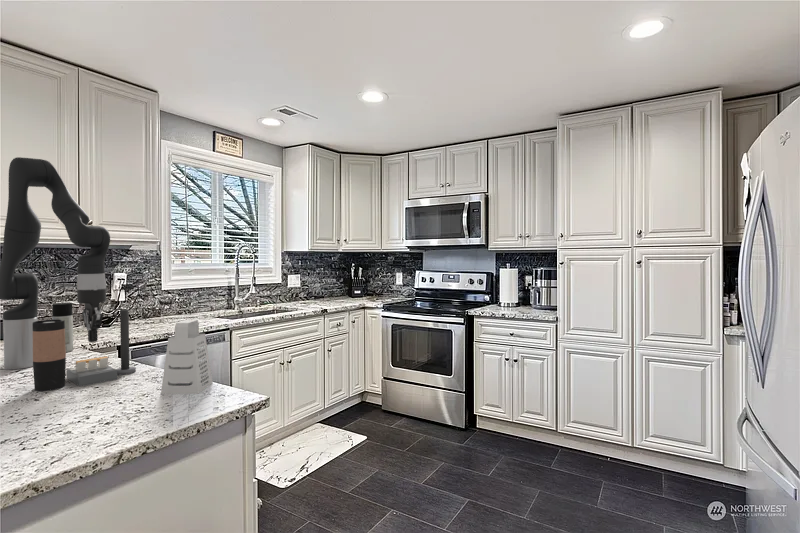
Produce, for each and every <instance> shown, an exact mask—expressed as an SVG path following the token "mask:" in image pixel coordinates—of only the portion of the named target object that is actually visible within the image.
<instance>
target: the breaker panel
mask: <svg viewBox="0 0 800 533" xmlns="http://www.w3.org/2000/svg"><path fill="white" fill-rule="evenodd" d="M116 369H117V368H114V367H112V366H110V365H107V367H104V368H99V367H98V363H97V369H93V370H88V369H87V365H86V368H85V371H81V372H76V367H71V368H66V379H67V380H69V381H70V382H71V383H73V384H74V385H76V386H78V387H83V386H90V385H96V384H100V383H105V382H106V383H107V382H110V381H115V380H118V375H117V370H116Z"/></svg>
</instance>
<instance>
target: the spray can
mask: <svg viewBox="0 0 800 533" xmlns="http://www.w3.org/2000/svg"><path fill="white" fill-rule="evenodd" d="M51 311H52V313H51V314H52V315H51V320H56V319H59V320H61V321H64V320H65V347H66V353H69V352H73V351H74V322H73V320H74V319H73V316H74V315H73V303H72V302H57V303H52V306H51Z"/></svg>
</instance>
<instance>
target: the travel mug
mask: <svg viewBox="0 0 800 533" xmlns="http://www.w3.org/2000/svg"><path fill="white" fill-rule="evenodd" d="M32 327H33V366H32V369H33V384H34V385H33V386H34V391H35V392H49V391H55V390H59V389H61V388H64V387H65V386H66V375H67V373H66V369H67V368H66V367H67V366H66V363H67V355H66V354H67V352H66V347H65V320H64V321H61V320H59V319H56V320H52V319H44V320H37V321H36V322H33V324H32Z"/></svg>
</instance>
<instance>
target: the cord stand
mask: <svg viewBox="0 0 800 533" xmlns="http://www.w3.org/2000/svg"><path fill="white" fill-rule="evenodd" d="M119 315H120V316H119V319H120V320H119V321H120V326H119V327H120V367H119V368H115V369H116V370H117V376H124V375H131V374H133V373H136V367H135V366H130V324H129V323H130V318H129V317H130V316H129V315H130V314H129V309H121V310H120V311H119Z"/></svg>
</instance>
